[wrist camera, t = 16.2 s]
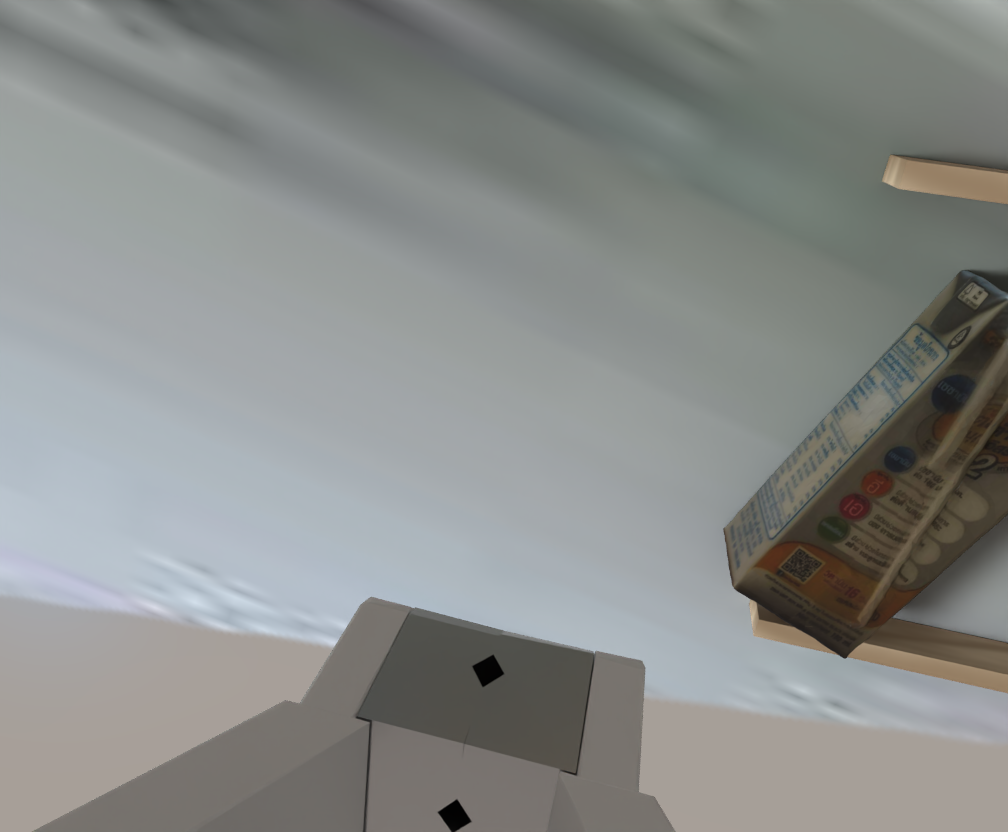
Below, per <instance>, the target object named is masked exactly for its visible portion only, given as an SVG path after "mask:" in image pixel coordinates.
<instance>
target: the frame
mask: <svg viewBox="0 0 1008 832" xmlns="http://www.w3.org/2000/svg"><path fill="white" fill-rule="evenodd" d="M882 181H883V182H885V183H887V184H889V185H891V186H894V187H896V188H898V189H904V190H911V191H918V192H925V193H932V194H939V195H946V196H954V197H961V198H968V199H975V200H982V201H989V202H996V203H1003V204H1008V170H1001V169H993V168H986V167H978V166H971V165H963V164H956V163H949V162H941V161H934V160H926V159H919V158H911V157H904V156H897V155H890V157H889V160H888V163H887V166H886V170H885V173H884V176H883V179H882ZM749 606H750V613H751V620H752V627H753V635H754V636H756V637H761V638H765V639H770V640H774V641H778V642H783V643H787V644H792V645H796V646H801V647H805V648H810V649H814V650H818V651H823V652H827V653H832V654H836V653H835V652H833V651H832V650H830V649H828V648H827V647H825V646H824V645H822V644H821V643H820V642H818V641H817V640H816V639H814V638H813V637H811V636H809V635H807V634H806V633H804V632H802V631H800V630H798V629H796V628H795V627H793V626H792V625H790V624H788V623H786V622H785V621H783V620H782V619H780V618H779V617H778V616H776V615H775V614H773V613H771V612H770V611H768V610H767V609H765V608H764V607H762V606H761V605H760V604H758V603H756V602H755V601H753V600H750V603H749ZM836 655H838V654H836ZM848 657H850V658H854V659H858V660H863V661H867V662H872V663H876V664H881V665H885V666H889V667H894V668H898V669H903V670H907V671H912V672H916V673H921V674H925V675H929V676H934V677H938V678H943V679H947V680H952V681H956V682H961V683H965V684H969V685H974V686H978V687H983V688H987V689H992V690H996V691H1001V692H1005V693H1008V643H1004V642H1000V641H995V640H990V639H986V638H981V637H977V636H972V635H967V634H963V633H958V632H953V631H949V630H944V629H940V628H935V627H930V626H926V625H921V624H917V623H912V622H907V621H903V620H898V619H893V618H890V619H889V620H888V621H887V622H886V623H885V624H884V625H883V626H882V627H881V628H879V629H878V630H877V631H876V632H875V633H874V634H873V635H872V636H871V637H870V638H869V639H867V640H866V641H865V642H863V643H862V644H861V645H859V646H858V647H857V648H855V649H854V650H853V651H852V652H851V653H850V654H849V655H848Z"/></svg>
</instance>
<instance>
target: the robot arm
mask: <svg viewBox="0 0 1008 832" xmlns="http://www.w3.org/2000/svg"><path fill="white" fill-rule="evenodd" d="M644 683H645V666H644V664H643V662H642V661H641V660H636V659H631V658H627V657H622V656H617V655H613V654H608V653H603V652H599V651H595V654H594V652H593V651H590V650H585V649H581V648H577V647H572V646H568V645H564V644H559V643H555V642H551V641H546V640H542V639H538V638H533V637H529V636H524V635H520V634H516V633H511V632H507V631H503V630H499V629H496V628H492V627H488V626H484V625H480V624H476V623H473V622H469V621H465V620H461V619H457V618H454V617H450V616H446V615H442V614H438V613H435V612H431V611H427V610H423V609H419V608H411V607H408V606H405V605H401V604H397V603H393V602H389V601H385V600H382V599H378V598H374V597H370V598H369V599H367V600H366V601H365V602H363V603H362V604H361V605H360V606H359V608H358V610H357V611H356V613H355V614H354V616H353V618H352V619H351V621H350V623H349V624H348V626H347V627H346V629H345V631H344V632H343V634H342V636H341V637H340V639H339V640H338V642H337V644H336V645H335V647H334V648H333V650H332V652H331V653H330V655H329V657H328V658H327V660H326V662H325V663H324V665H323V667H322V668H321V670H320V671H319V673H318V674H317V676H316V678H315V679H314V681H313V682H312V684H311V686H310V687H309V689H308V691H307V692H306V694H305V695H304V697H303V699H302V700H301V702H300V704H299V703H295V702H291V701H286V700H285V701H283V702H281V703H279V704H277V705H275V706H273V707H271V708H270V709H268V710H266V711H264V712H262V713H260V714H258V715H256V716H254V717H252V718H250V719H248V720H247V721H244V722H242V723H241V724H239V725H237V726H235V727H233V728H231V729H229V730H227V731H225V732H223V733H222V734H219V735H218V736H216V737H214V738H212V739H210V740H208V741H206V742H204V743H202V744H200V745H198V746H196V747H194V748H192V749H191V750H189V751H187V752H185V753H183V754H181V755H179V756H177V757H175V758H173V759H171V760H169V761H167V762H165V763H164V764H162V765H160V766H158V767H156V768H154V769H152V770H150V771H148V772H146V773H144V774H142V775H140V776H138V777H137V778H135V779H133V780H131V781H129V782H127V783H125V784H123V785H121V786H119V787H117V788H115V789H114V790H111V791H109V792H107V793H106V794H104V795H102V796H100V797H98V798H96V799H94V800H92V801H90V802H88V803H86V804H84V805H82V806H80V807H79V808H77V809H75V810H73V811H71V812H69V813H67V814H65V815H63V816H61V817H59V818H58V819H56V820H54V821H52V822H50V823H48V824H46V825H44V826H42V827H40V828H38V829H36V830H34V831H32V832H675V830H674V828H673V827H672V825H671V823H670V822H669V820H668V818H667V817H666V815H665V814H664V812H663V810H662V809H661V807H660V805H659V804H658V802H657V800H656V799H655V797H653V796H650V795H646V794H643V793H639V774H640V756H641V738H642V719H643V701H644Z"/></svg>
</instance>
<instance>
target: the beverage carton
mask: <svg viewBox="0 0 1008 832" xmlns="http://www.w3.org/2000/svg"><path fill="white" fill-rule="evenodd" d="M1007 514H1008V293H1006V292H1004V291H1001V290H999V289H998V288H997V287H996V286H994V285H993V284H992V283H990V282H989V281H987V280H986V279H985V278H982V277H980V276H977V275H975V274H973V273H971V272H969V271H965V270H962V271H961V272H959V273H958V275H957V276H956V277H955V278H954V279H953V280H952V281H951V282H950V283H949V284H948V285H947V286H946V288H945V289H944V290H943V291H942V292H941V293H940V294H939V295H938V296H937V297H936V298H935V299H934V300H933V302H932V303H931V304H930V305H929V306H928V307H927V308H926V309H925V311H924V312H923V313H922V314H921V315H920V316H919V317H918V318H917V319H916V320H915V321H914V323H913V324H912V325H911V326H910V327H909V328H908V329H907V330H906V331H905V332H904V333H903V334H902V335H901V337H900V338H899V339H898V340H897V341H896V342H895V343H894V344H893V345H892V346H891V347H890V348H889V349H888V350H887V351H886V352H885V353H884V354H883V355H882V357H881V358H880V359H879V360H878V361H877V362H876V363H875V364H874V366H873V367H872V368H871V369H870V370H869V371H868V372H867V373H866V374H865V375H864V376H863V377H862V378H861V379H860V381H859V382H858V383H857V384H856V385H855V386H854V387H853V388H852V389H851V390H850V392H849V393H848V394H847V395H846V396H845V397H844V398H843V399H842V400H841V401H840V402H839V403H838V405H837V406H836V407H835V408H834V409H833V410H832V411H831V412H830V413H829V414H828V415H827V416H826V417H825V418H824V419H823V420H822V421H821V422H820V424H819V425H818V426H817V427H816V428H815V429H814V430H813V431H812V432H811V433H810V434H809V435H808V437H807V438H806V439H805V440H804V441H803V442H802V443H801V444H800V445H799V446H798V448H797V449H796V450H795V451H794V452H793V453H792V454H791V455H790V456H789V457H788V458H787V459H786V460H785V462H784V463H783V464H782V465H781V466H780V467H779V468H778V469H777V470H776V471H775V473H774V474H773V475H772V476H771V477H770V478H769V479H768V480H767V481H766V482H765V484H764V485H763V486H762V487H761V488H760V489H759V490H758V492H757V493H756V494H755V495H754V496H753V497H752V498H751V499H750V500H749V501H748V503H747V504H746V505H745V506H744V507H743V508H742V509H741V510H740V511H739V512H738V513H737V515H736V516H735V517H734V518H733V520H732V521H731V522H730V523H729V524H728V525H727V526H726V527H725V528H724V535H725V542H726V547H727V556H728V561H729V570H730V576H731V579H732V585H733V587H734V589H735V590H736V591H738V592H739V593H741V594H743V595H745V596H746V597H748V598H749V599H751V600H753V601H755V602H756V603H758V604H760V605H761V606H762V607H764V608H765V609H767V610H768V611H770V612H771V613H773V614H775V615H776V616H778V617H779V618H780V619H782V620H783V621H785V622H786V623H788V624H790V625H792V626H793V627H795V628H796V629H798V630H800V631H802V632H804V633H806V634H807V635H809V636H811V637H813V638H814V639H816V640H817V641H818V642H820V643H821V644H822V645H824V646H825V647H827V648H828V649H830V650H832V651H833V652H835V653H836V654H838V655H840V656H841V657H843V658H847V657H848V655H849V654H850V653H851V652H852V651H853V650H854V649H855V648H857V647H858V646H859V645H861V644H862V643H863V642H865V641H866V640H867V639H869V638H870V637H871V636H872V635H873V634H874V633H875V632H876V631H877V630H878V629H879V628H881V627H882V626H883V625H884V624H885V623H886V622H887V621H888V620H889V619H890V618H891V617H893V616H894V615H895V614H896V613H897V612H898V611H899V610H901V609H902V608H903V607H904V606H905V605H906V604H908V603H909V602H910V601H911V600H912V599H913V598H914V597H916V596H917V595H918V594H919V593H920V592H921V591H922V590H923V589H925V588H926V587H927V586H928V585H929V584H930V583H931V582H932V581H933V580H935V579H936V578H937V577H938V576H939V575H940V574H941V573H942V572H943V571H944V570H945V569H946V568H947V567H949V566H950V565H951V564H952V563H953V562H954V561H955V560H956V559H957V558H959V557H960V556H961V555H962V554H963V553H964V552H965V551H966V550H968V549H969V548H970V547H971V546H972V545H973V544H974V543H975V542H977V541H978V540H979V539H980V538H981V537H982V536H983V535H985V534H986V533H987V532H988V531H989V530H990V529H992V528H993V527H994V526H995V525H997V524H998V523H999V522H1000V521H1001V520H1002V519H1003V518H1004V517H1005V516H1006V515H1007Z"/></svg>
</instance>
